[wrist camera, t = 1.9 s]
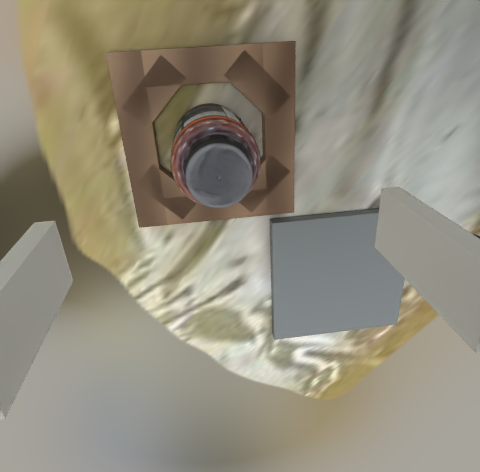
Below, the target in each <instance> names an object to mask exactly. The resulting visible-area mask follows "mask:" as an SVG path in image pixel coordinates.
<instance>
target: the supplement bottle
mask: <svg viewBox="0 0 480 472" xmlns="http://www.w3.org/2000/svg"><path fill="white" fill-rule="evenodd" d="M260 167H261V157H260V151H259V149H258V146H257V144H256V142H255V140H254V138H253V136H252V134H251V133H250V132H249V131H248V129H247V128H246V127H245V125H244V124H243V123H242V121H241V118H240V119H239V118H238V117H237V116H236V115H235V114H234V113H233V112H231V111H230V110H229V109H227V108H225V107H223V106H220V105H217V104H203V105H199V106H196V107H194V108H193V109H191V110H190V111H188V112H187V113H186V114H185V115H184V116H183V117H182V119H181V120H180V121H179V123H178V125H177V128H176V131H175V135H174V141H173V146H172V150H171V170H172V174H173V177H174V180H175V182H176V184H177V185H178V187H179V188H180V190H181V191H182V192H183V193H184V194H185V195H186V196H187V197H188V198H190V199H191V200H193V201H194V202H196V203H198V204H201V205H204V206H208V207H211V208H226V207H230V206H232V205H235V204H236V203H238V202H240V201H241V200H242V199H243V198H244V197H245V196H246V195H247V194H248V193H249V192H250V191H251V189H252V188H253V187H254V185H255V184H256V181H257V179H258V177H259V173H260Z"/></svg>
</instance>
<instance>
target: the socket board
mask: <svg viewBox="0 0 480 472" xmlns="http://www.w3.org/2000/svg"><path fill="white" fill-rule="evenodd" d="M106 56H107V62H108V67H109V72H110V77H111V83H112V88H113V93H114V98H115V103H116V109H117V114H118V119H119V124H120V129H121V135H122V140H123V145H124V150H125V155H126V161H127V166H128V171H129V176H130V182H131V187H132V192H133V197H134V202H135V208H136V213H137V218H138V223H139V228H140V227H150V226H160V225H170V224H180V223H191V222H201V221H211V220H221V219H231V218H242V217H252V216H262V215H272V214H282V213H292V212H294V144H295V41H288V42H272V43H255V44H239V45H223V46H206V47H190V48H174V49H157V50H141V51H124V52H108V53H106ZM229 81H230V82H231V83H232V84H233V85H234V86H235V87H236V88H237V89H238V90H239V91H240V92H241V93H242V94H243V95H244V96H246V97H247V98H248V99H249V100H250V101H251V102H252V103H253V104H254V105H255V106H256V107H257V108H258V109H259V110H260V111H261V112H262V131H263V157H262V158H261V167H260V173H259V177H258V179H257V181H256V184H255V185H254V187H253V188H252V189H251V191H250V192H249V193H248V194H247V195H246V196H245V197H244V198H243V199H242V200H241V201H240V202H238V203H236V204H235V205H232V206H230V207H226V208H211V207H208V206H204V205H201V204H198V203H196V202H194V201H193V200H191V199H190V198H188V197H187V196H186V195H185V194H184V193H183V192H182V191H181V190H180V188H179V187H178V185H177V184H176V182H175V180H174V177H173V174H171V173H170V172H169V171H167V170H166V169H165V168H163V167H162V166H161V165H160V161H159V155H158V148H157V142H156V135H155V128H154V122H153V121H154V120H155V118H156V117H157V116H158V114H159V113H160V112H161V111H162V109H163V108H164V107H165V105H166V104H167V103H168V101H169V100H170V99H171V98H172V96H173V95H174V94H175V92H176V91H177V90H178V88H179V87H180V86H181V85H185V84H200V83H214V82H229Z"/></svg>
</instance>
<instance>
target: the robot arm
mask: <svg viewBox="0 0 480 472" xmlns="http://www.w3.org/2000/svg"><path fill="white" fill-rule="evenodd" d="M375 248H376V249H377V250H378V251H379V252H380V253H381V254H382V255H383V256H384V257H385V258H386V259H387V261H388V262H389V263H390V264H391V265H392V266H393V267H394V268H395V269H396V270H397V271H398V272H399V273H400V274H401V275H402V276H403V277H404V278H405V279H406V280H407V281H408V283H409V284H410V285H411V286H412V287H413V288H414V289H415V290H416V291H417V292H418V293H419V294H420V295H421V296H422V297H423V298H424V299H425V300H426V301H427V302H428V304H429V305H430V306H431V307H432V308H433V309H434V310H435V311H436V312H437V313H438V314H439V315H440V316H441V317H442V318H443V319H444V320H445V321H446V322H447V323H448V324H449V326H451V328H452V329H453V330H454V331H455V332H456V333H457V334H458V335H459V336H460V337H461V338H462V339H463V340H464V341H465V342H466V343H467V344H468V345H469V346H470V348H471V349H472V350H473V351H474V352H480V236H477V235H475V234H471V233H470V232H468V231H467V230H465V229H464V228H462V227H461V226H459V225H457V224H456V223H454V222H453V221H451V220H450V219H448V218H447V217H445V216H443V215H442V214H440V213H439V212H437V211H436V210H434V209H433V208H431V207H429V206H428V205H426V204H425V203H423V202H422V201H420V200H419V199H417V198H416V197H414V196H412V195H411V194H409V193H408V192H406V191H405V190H403V189H402V188H400V187H394V188H383V189H381V198H380V206H379V215H378V223H377V232H376V240H375ZM72 282H73V279H72V276H71V272H70V269H69V266H68V262H67V259H66V256H65V252H64V249H63V246H62V242H61V239H60V236H59V232H58V229H57V226H56V222H55V221H47V222H36V223H34V224H33V225H32V226H31V227H30V228H29V229H28V231H27V232H26V233H25V234H24V235H23V236H22V237H21V239H20V240H19V241H18V242H17V243H16V244H15V245H14V246H13V248H12V249H11V250H10V251H9V252H8V253H7V255H6V256H5V257H4V258H3V259H2V260H1V261H0V419H5V418H6V416H7V414H8V412H9V410H10V408H11V405H12V404H13V401H14V400H15V397H16V395H17V394H18V391H19V389H20V387H21V385H22V383H23V381H24V379H25V377H26V375H27V373H28V371H29V369H30V367H31V365H32V363H33V361H34V359H35V357H36V355H37V353H38V351H39V349H40V347H41V345H42V343H43V341H44V339H45V337H46V335H47V333H48V331H49V329H50V327H51V325H52V323H53V321H54V318H55V316H56V314H57V312H58V310H59V308H60V306H61V304H62V302H63V300H64V298H65V296H66V294H67V292H68V290H69V288H70V286H71V284H72Z"/></svg>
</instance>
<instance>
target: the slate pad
mask: <svg viewBox="0 0 480 472" xmlns="http://www.w3.org/2000/svg"><path fill="white" fill-rule="evenodd" d="M378 215H379V208H378V209H368V210H358V211H348V212H338V213H328V214H318V215H308V216H298V217H288V218H278V219H270V234H271V281H272V327H273V337H274V340H276V339H284V338H292V337H300V336H308V335H316V334H324V333H332V332H340V331H348V330H356V329H364V328H372V327H380V326H388V325H396V324H397V321H398V315H399V309H400V303H401V297H402V291H403V285H404V279H405V278H404V277H403V276H402V275H401V274H400V273H399V272H398V271H397V270H396V269H395V268H394V267H393V266H392V265H391V264H390V263H389V262H388V261H387V259H386V258H385V257H384V256H383V255H382V254H381V253H380V252H379V251H378V250H377V249H376V248H375V240H376V232H377V223H378Z"/></svg>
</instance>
